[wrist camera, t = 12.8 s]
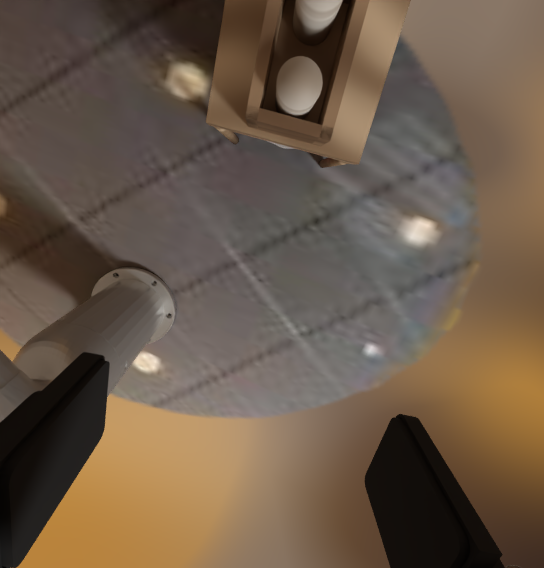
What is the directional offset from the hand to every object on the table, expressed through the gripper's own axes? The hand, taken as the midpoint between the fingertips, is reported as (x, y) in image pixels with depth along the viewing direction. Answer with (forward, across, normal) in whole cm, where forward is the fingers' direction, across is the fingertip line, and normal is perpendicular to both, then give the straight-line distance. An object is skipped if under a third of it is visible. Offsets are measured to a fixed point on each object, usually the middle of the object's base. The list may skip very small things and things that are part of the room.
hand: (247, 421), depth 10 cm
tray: (+20, 0, -16) cm, 25 cm away
